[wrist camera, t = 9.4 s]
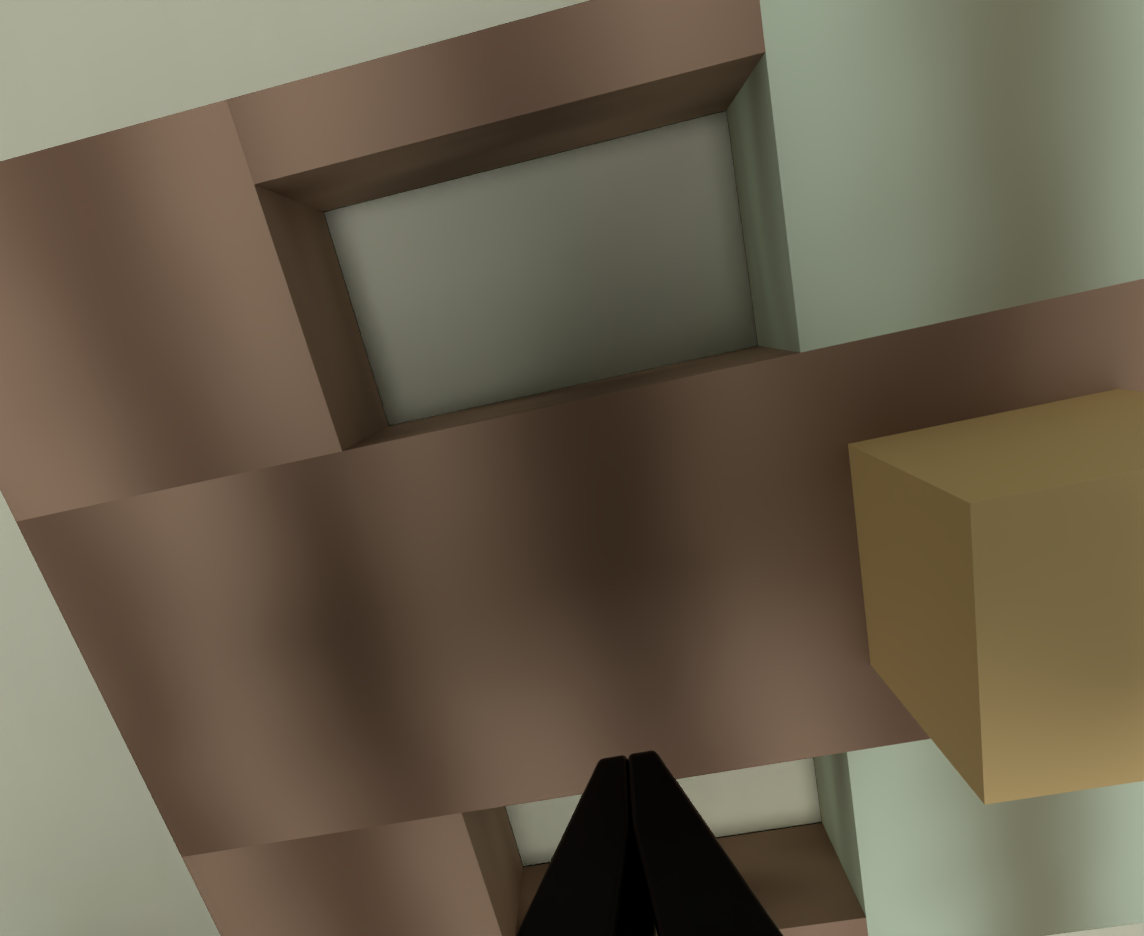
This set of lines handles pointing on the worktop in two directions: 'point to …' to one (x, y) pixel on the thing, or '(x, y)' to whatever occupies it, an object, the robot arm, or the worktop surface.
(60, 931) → the worktop surface
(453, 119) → the trap board
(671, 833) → the robot arm
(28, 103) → the worktop surface
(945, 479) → the ochre block
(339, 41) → the worktop surface
